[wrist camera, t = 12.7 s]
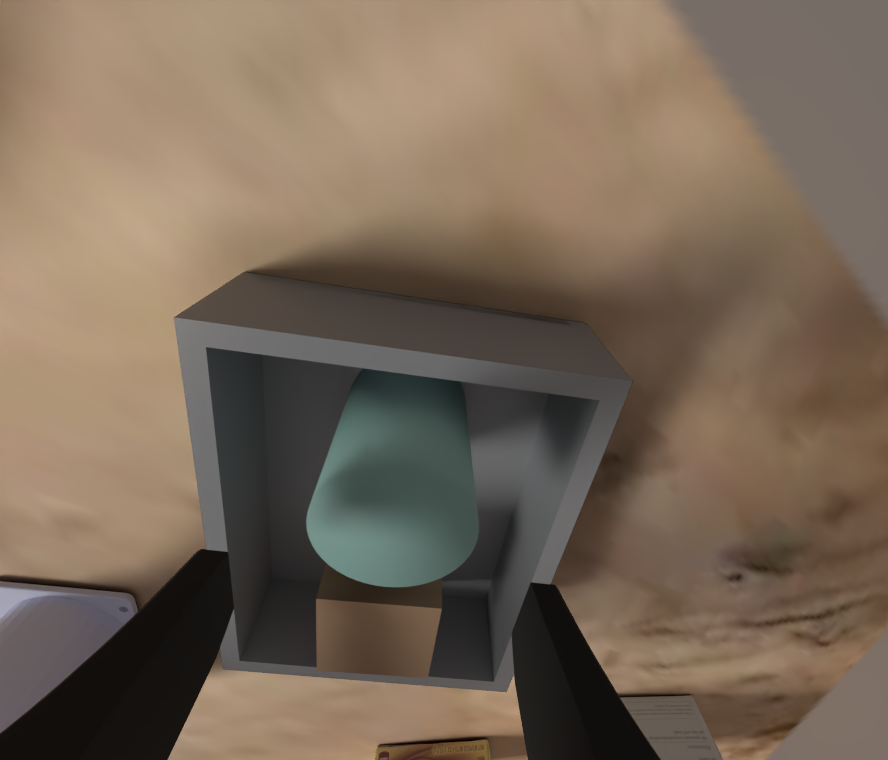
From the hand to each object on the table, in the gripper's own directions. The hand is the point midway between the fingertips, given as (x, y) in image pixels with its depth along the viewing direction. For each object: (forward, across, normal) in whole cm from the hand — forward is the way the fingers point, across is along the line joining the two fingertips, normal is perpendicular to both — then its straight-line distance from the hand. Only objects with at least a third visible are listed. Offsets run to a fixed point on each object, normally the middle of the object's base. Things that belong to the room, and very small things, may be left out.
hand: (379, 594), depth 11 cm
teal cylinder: (+9, 0, 0) cm, 9 cm away
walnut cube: (+9, 0, +9) cm, 13 cm away
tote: (+10, 0, +4) cm, 11 cm away
